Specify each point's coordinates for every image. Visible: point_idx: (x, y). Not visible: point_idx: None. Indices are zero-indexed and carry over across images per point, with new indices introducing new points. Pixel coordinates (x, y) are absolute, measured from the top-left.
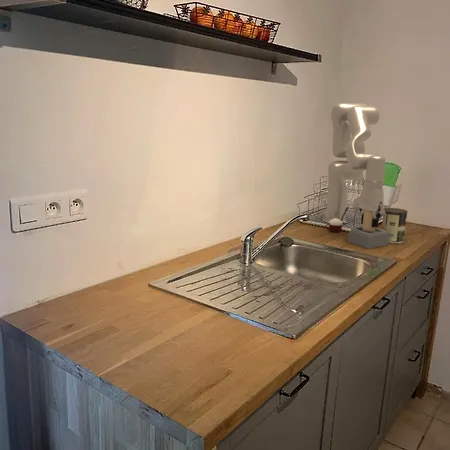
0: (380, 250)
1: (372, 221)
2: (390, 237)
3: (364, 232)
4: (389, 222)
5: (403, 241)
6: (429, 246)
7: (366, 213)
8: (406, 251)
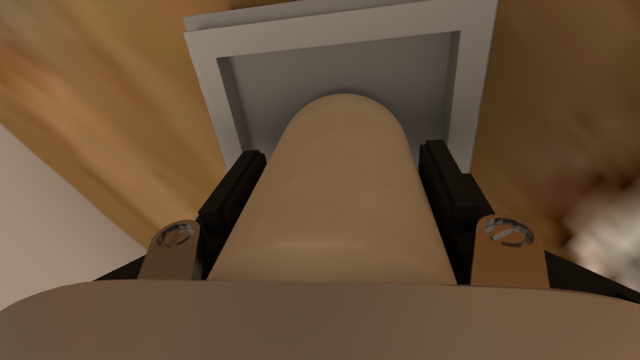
0: (180, 78)
1: (231, 183)
2: None
3: (257, 29)
4: None
5: None
6: None
7: (295, 213)
8: (158, 200)
